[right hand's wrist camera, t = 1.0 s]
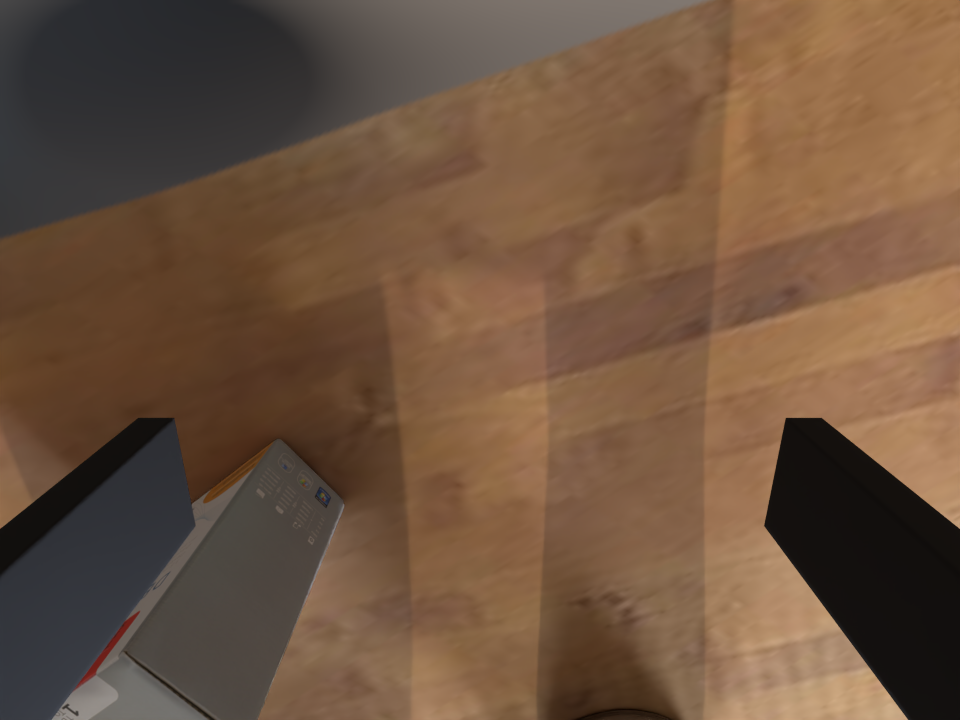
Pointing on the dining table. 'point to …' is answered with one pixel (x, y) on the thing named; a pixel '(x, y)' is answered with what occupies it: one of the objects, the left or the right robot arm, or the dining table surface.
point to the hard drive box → (219, 602)
